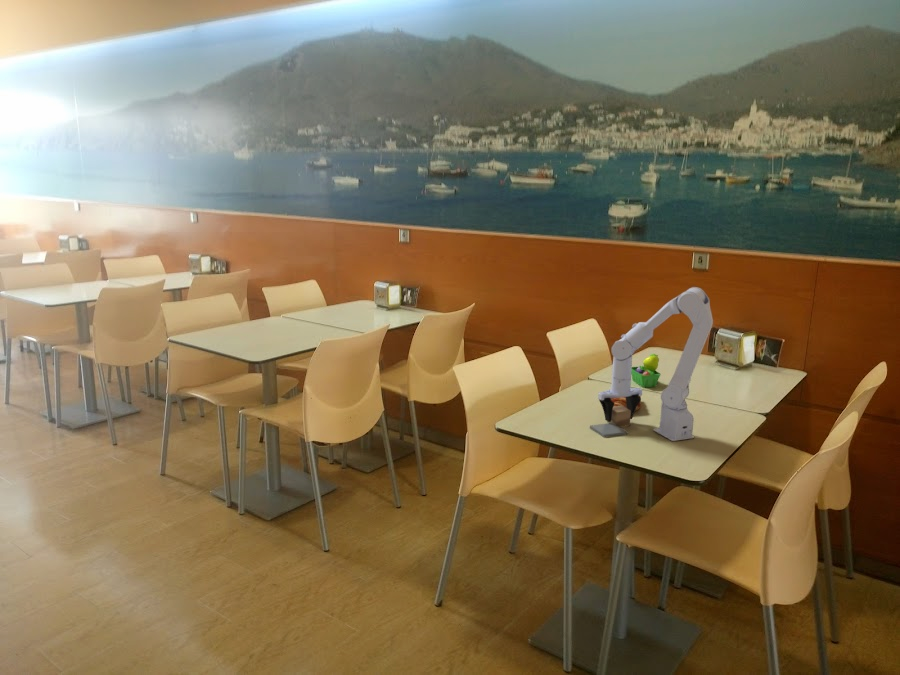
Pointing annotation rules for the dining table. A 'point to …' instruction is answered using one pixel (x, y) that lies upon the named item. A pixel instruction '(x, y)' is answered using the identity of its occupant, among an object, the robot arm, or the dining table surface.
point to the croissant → (623, 402)
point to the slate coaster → (608, 429)
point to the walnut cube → (620, 416)
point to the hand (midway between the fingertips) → (618, 419)
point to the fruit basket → (647, 372)
